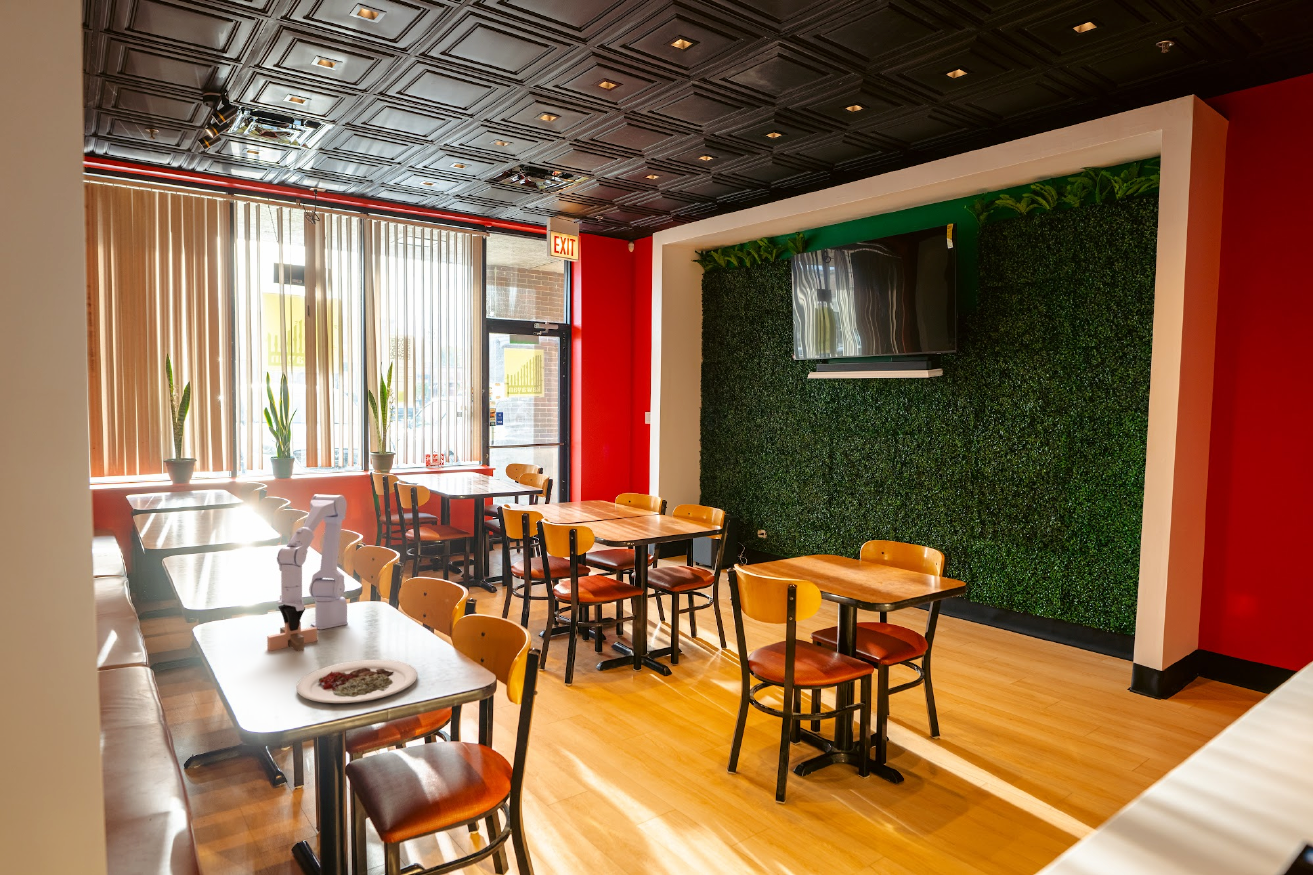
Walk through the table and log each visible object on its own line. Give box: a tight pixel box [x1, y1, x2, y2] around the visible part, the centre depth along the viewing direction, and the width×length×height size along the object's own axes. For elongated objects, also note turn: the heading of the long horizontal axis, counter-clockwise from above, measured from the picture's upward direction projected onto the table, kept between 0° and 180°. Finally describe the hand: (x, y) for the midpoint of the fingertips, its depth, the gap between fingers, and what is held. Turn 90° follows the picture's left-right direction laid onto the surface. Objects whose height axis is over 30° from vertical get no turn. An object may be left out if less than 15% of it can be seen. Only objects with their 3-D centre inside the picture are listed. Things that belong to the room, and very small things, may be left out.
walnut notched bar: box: [279, 626, 305, 652], centre depth 229 cm, size 2×14×4 cm, turn 46°
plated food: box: [296, 659, 418, 704], centre depth 198 cm, size 30×30×3 cm
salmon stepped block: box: [266, 621, 318, 652], centre depth 229 cm, size 14×2×7 cm, turn 136°
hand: (291, 628), depth 229 cm, fingers open, 3 cm apart
